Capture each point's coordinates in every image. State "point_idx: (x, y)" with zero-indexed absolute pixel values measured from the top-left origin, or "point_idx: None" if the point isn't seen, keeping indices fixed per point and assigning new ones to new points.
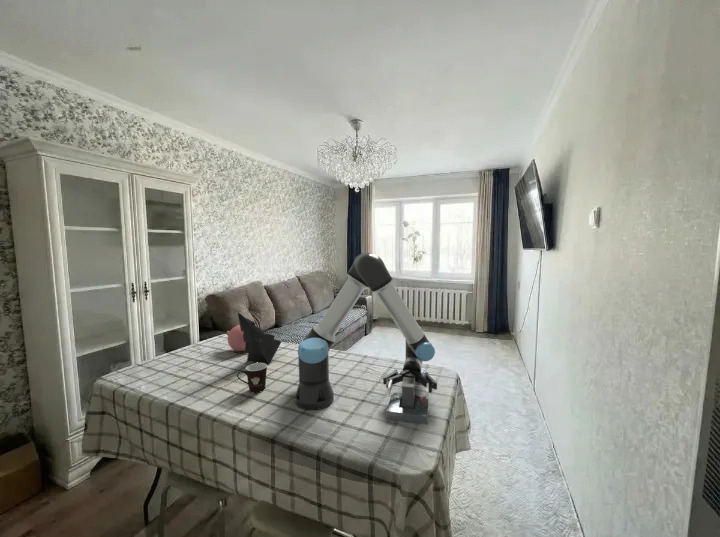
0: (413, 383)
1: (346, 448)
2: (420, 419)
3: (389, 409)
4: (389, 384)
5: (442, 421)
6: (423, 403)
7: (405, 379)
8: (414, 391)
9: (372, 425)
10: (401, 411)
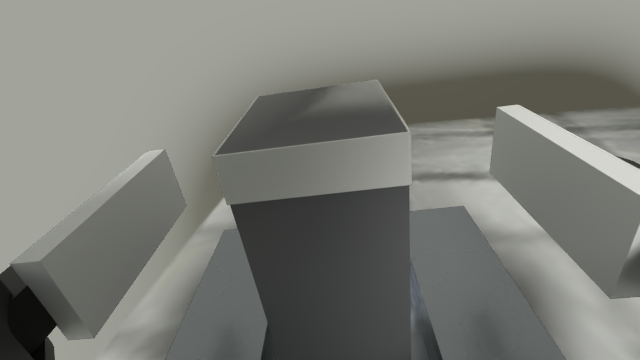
0: (257, 98)
1: (492, 129)
2: None
3: (456, 220)
4: (546, 126)
5: (140, 312)
6: (207, 352)
7: (358, 109)
8: (267, 317)
9: (496, 200)
10: None
